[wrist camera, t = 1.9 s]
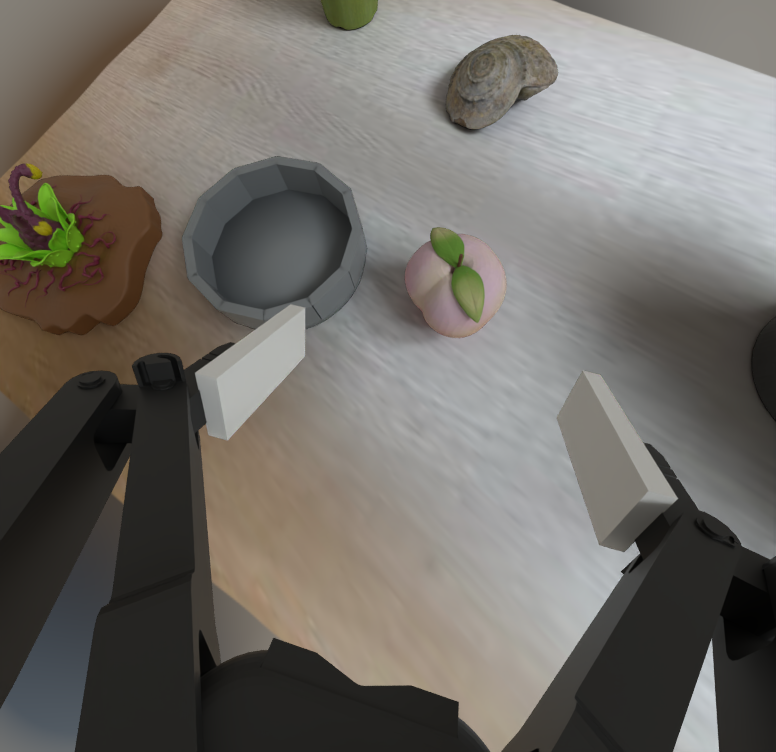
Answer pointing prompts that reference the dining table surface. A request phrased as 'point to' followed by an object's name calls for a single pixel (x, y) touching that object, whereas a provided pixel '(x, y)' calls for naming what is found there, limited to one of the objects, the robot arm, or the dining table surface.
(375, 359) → the dining table surface
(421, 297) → the decorative fruit
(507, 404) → the dining table surface
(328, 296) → the bowl
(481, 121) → the fossilized seashell
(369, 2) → the plant pot
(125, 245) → the sprouting soil patch
